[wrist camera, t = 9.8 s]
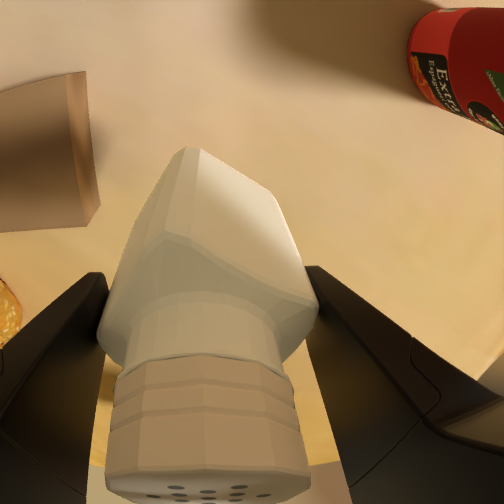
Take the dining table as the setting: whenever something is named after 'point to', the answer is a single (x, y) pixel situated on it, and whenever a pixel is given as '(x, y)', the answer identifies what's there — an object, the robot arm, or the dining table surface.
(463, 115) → the canned food
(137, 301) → the pepper shaker
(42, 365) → the robot arm
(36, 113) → the walnut block
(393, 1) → the dining table surface
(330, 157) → the dining table surface
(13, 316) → the bagel
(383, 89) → the dining table surface
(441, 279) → the dining table surface
